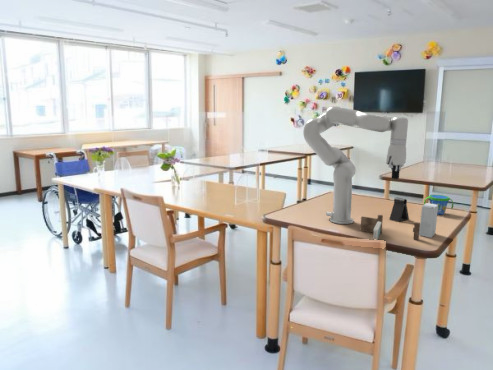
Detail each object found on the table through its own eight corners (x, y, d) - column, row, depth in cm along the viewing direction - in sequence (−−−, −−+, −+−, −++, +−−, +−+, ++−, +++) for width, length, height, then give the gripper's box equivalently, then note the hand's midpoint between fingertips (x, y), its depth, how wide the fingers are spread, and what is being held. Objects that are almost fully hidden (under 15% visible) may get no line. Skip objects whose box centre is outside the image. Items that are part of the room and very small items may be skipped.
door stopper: (398, 222, 224) (399, 200, 222) (389, 219, 229) (390, 198, 227) (409, 219, 229) (410, 198, 227) (399, 217, 234) (401, 196, 232)
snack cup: (452, 212, 243) (453, 195, 241) (453, 217, 234) (454, 199, 232) (423, 210, 249) (424, 193, 248) (423, 214, 240) (424, 197, 238)
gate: (376, 233, 204) (377, 221, 203) (380, 233, 203) (381, 221, 202) (372, 241, 191) (373, 229, 190) (376, 242, 190) (377, 229, 189)
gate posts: (360, 230, 209) (360, 213, 207) (362, 229, 212) (363, 211, 210) (417, 240, 193) (419, 221, 192) (419, 238, 196) (420, 220, 195)
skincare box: (423, 231, 207) (425, 202, 204) (436, 233, 204) (438, 204, 201) (418, 235, 200) (421, 205, 198) (432, 238, 197) (434, 207, 194)
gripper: (400, 141, 214) (397, 176, 218) (382, 142, 206) (379, 178, 209) (413, 142, 208) (410, 178, 211) (395, 143, 200) (392, 181, 203)
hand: (395, 178), depth 210 cm, fingers closed
